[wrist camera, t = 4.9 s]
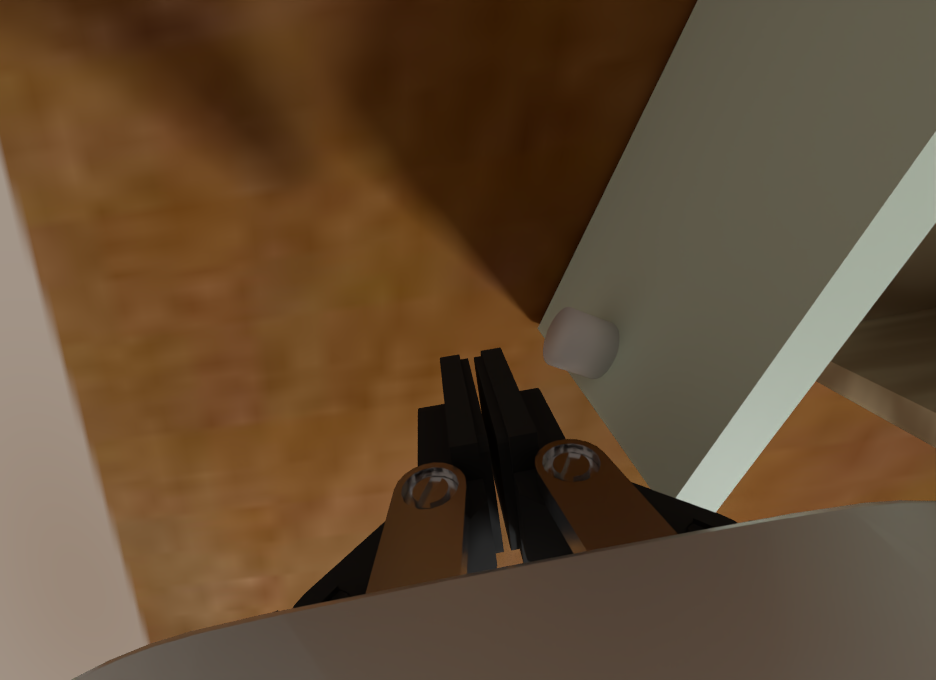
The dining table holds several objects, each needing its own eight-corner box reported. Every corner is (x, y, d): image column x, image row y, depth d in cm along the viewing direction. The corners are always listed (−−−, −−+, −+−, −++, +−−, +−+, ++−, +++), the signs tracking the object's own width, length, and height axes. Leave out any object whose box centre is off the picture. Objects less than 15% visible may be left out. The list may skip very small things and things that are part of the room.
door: (768, -255, 13) (2050, -1767, 3) (833, -200, 14) (2063, -1261, 4) (507, 317, 20) (606, 495, 9) (560, 336, 20) (708, 522, 10)
